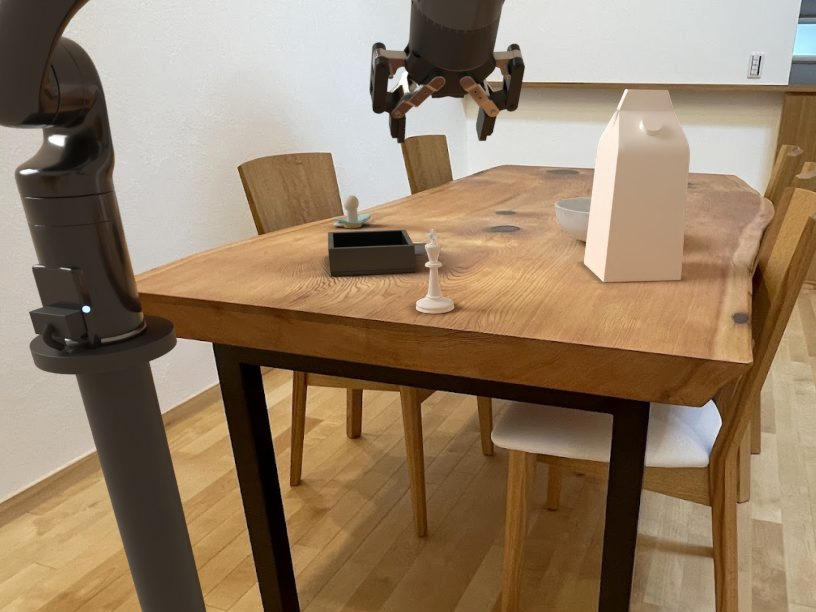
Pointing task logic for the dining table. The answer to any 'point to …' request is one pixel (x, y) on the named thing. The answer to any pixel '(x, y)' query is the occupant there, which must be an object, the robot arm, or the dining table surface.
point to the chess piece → (434, 282)
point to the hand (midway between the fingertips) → (440, 135)
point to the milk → (639, 192)
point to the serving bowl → (574, 216)
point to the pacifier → (352, 214)
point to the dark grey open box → (370, 252)
